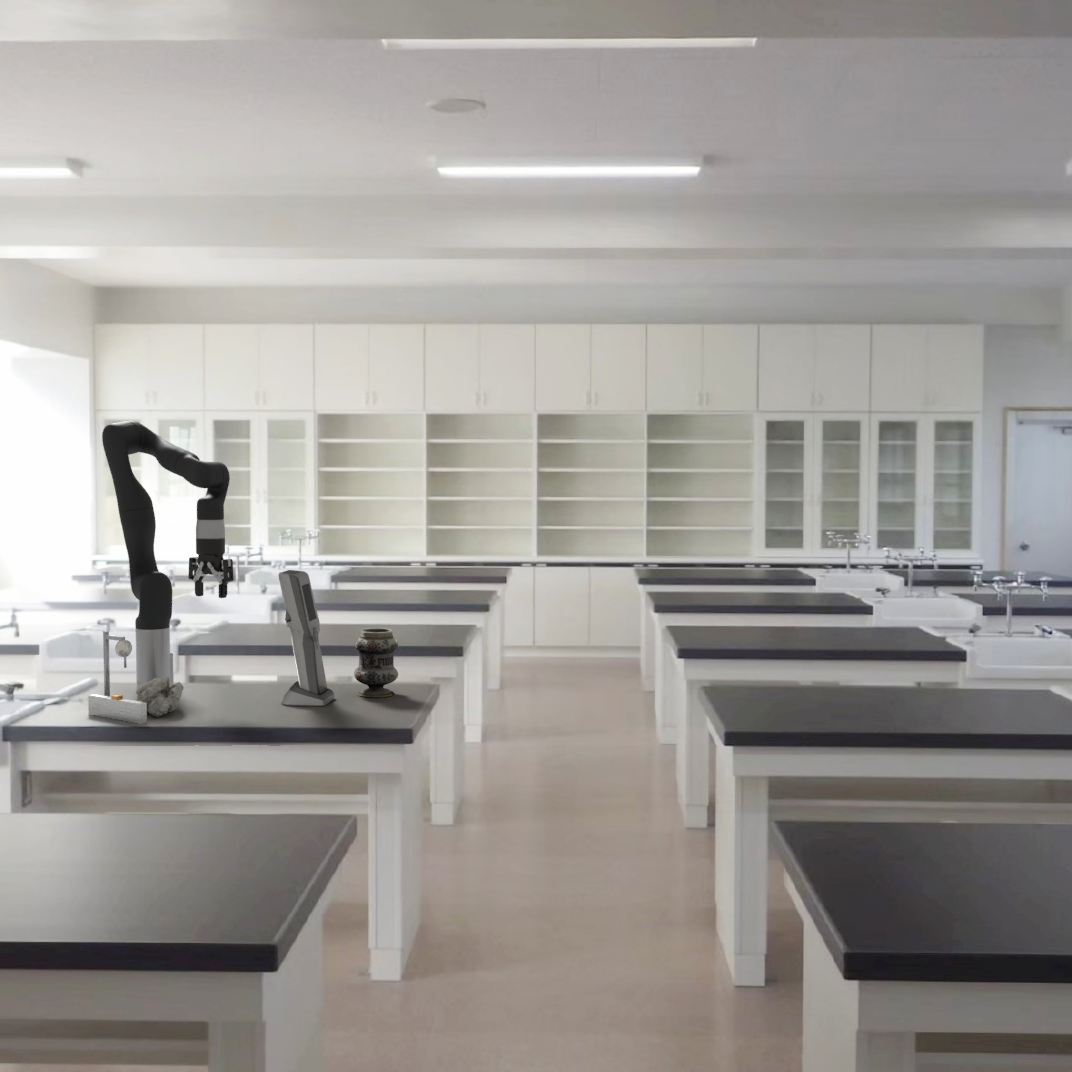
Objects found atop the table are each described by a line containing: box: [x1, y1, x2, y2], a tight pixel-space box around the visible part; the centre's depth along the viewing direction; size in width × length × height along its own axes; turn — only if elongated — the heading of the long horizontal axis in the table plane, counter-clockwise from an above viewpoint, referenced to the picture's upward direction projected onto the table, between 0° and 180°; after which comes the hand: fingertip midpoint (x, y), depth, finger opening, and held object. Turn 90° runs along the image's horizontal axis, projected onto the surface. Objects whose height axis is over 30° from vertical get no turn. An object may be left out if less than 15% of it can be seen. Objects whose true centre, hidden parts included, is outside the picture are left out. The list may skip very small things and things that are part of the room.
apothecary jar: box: [353, 627, 399, 699], centre depth 348 cm, size 12×12×18 cm
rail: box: [87, 693, 148, 725], centre depth 316 cm, size 2×20×6 cm, turn 57°
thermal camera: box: [278, 569, 336, 707], centre depth 337 cm, size 12×13×35 cm
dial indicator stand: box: [102, 630, 133, 697], centre depth 332 cm, size 6×11×20 cm, turn 57°
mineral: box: [135, 677, 184, 718], centre depth 324 cm, size 12×17×10 cm
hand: (210, 596), depth 339 cm, fingers open, 8 cm apart
